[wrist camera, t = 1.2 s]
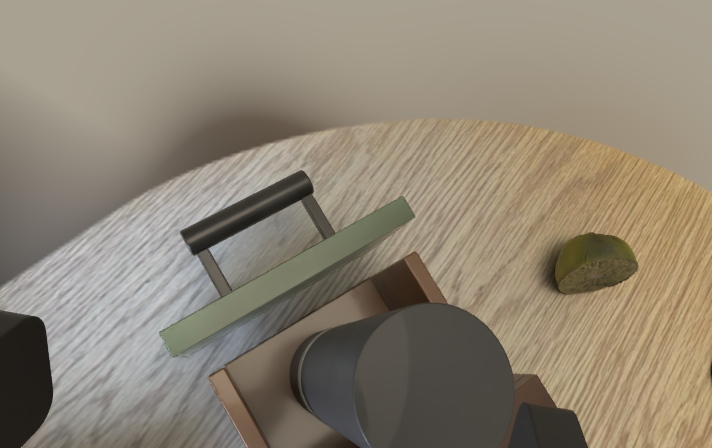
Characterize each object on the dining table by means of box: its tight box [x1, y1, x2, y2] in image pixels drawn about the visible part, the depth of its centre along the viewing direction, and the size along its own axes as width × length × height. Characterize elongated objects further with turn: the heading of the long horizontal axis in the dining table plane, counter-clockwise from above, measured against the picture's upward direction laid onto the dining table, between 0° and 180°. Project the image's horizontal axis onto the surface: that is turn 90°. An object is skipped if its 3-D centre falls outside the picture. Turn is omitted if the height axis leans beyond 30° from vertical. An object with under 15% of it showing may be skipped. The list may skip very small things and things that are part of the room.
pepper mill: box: [289, 302, 515, 448], centre depth 23 cm, size 5×5×16 cm
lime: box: [555, 232, 638, 294], centre depth 35 cm, size 4×5×5 cm
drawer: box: [159, 170, 448, 448], centre depth 28 cm, size 19×13×8 cm
